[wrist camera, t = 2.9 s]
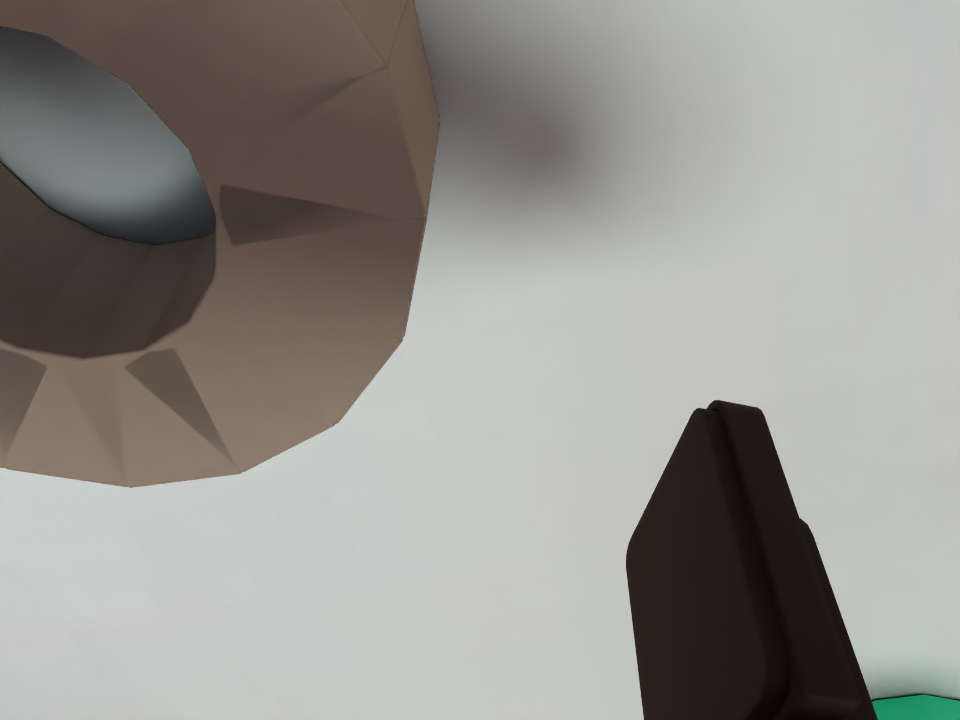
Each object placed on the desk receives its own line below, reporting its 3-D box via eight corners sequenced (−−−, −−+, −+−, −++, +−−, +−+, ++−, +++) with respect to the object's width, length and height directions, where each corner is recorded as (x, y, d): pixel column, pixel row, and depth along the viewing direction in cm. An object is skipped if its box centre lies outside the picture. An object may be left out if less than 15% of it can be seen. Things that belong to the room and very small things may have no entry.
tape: (-136, 310, 19) (-262, 430, 16) (-343, -381, 12) (-656, -416, 8) (388, 398, 20) (368, 524, 17) (494, -172, 13) (493, -135, 10)
